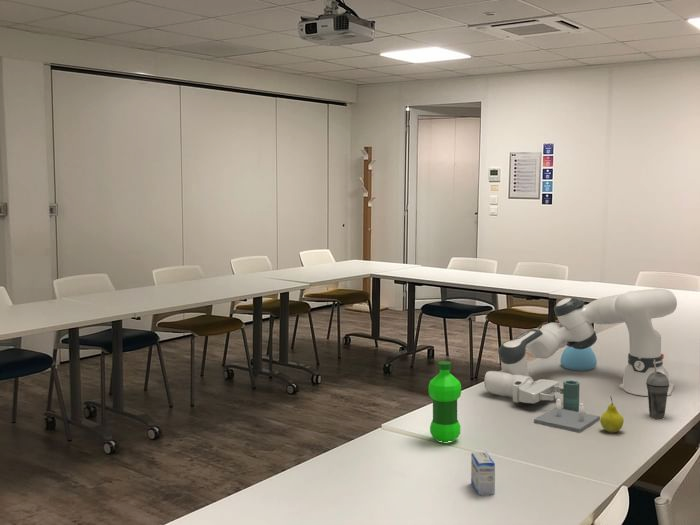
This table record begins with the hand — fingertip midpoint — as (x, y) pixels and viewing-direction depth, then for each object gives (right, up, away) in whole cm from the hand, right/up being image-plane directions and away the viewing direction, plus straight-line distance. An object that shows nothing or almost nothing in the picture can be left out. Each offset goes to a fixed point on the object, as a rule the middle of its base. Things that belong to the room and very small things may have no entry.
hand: (559, 394), depth 255 cm
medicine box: (-39, -13, -65) cm, 77 cm away
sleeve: (+3, -5, -2) cm, 6 cm away
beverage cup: (+30, -6, -12) cm, 32 cm away
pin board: (-2, -6, -13) cm, 15 cm away
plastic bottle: (-44, -9, -29) cm, 54 cm away
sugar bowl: (+25, +1, +56) cm, 62 cm away
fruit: (+10, -8, -24) cm, 27 cm away
